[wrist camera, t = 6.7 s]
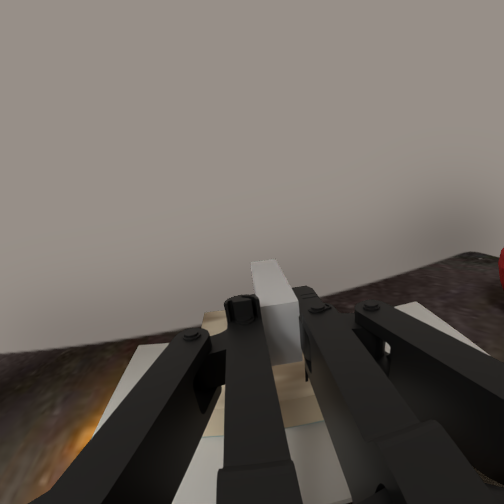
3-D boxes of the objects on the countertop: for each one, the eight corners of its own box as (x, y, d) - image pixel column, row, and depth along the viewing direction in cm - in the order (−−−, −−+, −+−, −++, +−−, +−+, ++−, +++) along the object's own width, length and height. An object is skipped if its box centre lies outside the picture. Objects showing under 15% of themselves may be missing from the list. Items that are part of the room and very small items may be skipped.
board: (185, 410, 14) (204, 312, 26) (196, 440, 14) (209, 336, 27) (371, 380, 14) (314, 296, 27) (367, 412, 14) (315, 321, 27)
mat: (70, 503, 9) (64, 497, 9) (140, 350, 26) (138, 345, 26) (536, 402, 10) (539, 395, 9) (415, 306, 27) (415, 301, 27)
